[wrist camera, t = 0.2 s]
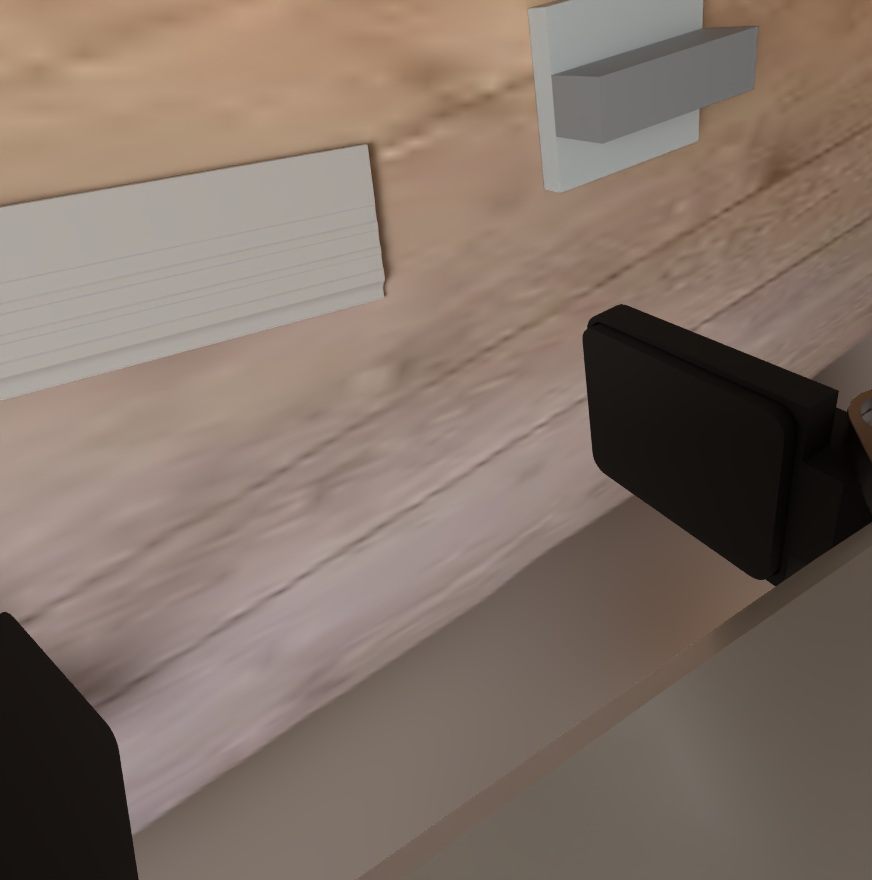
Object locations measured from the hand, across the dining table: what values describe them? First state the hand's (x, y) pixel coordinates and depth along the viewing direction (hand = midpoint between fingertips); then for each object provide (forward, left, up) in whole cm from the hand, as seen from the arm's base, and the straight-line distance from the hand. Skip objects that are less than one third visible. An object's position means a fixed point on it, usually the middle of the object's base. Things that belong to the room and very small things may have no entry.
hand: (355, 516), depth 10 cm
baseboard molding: (+6, -1, -37) cm, 38 cm away
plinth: (+3, +36, -36) cm, 52 cm away
